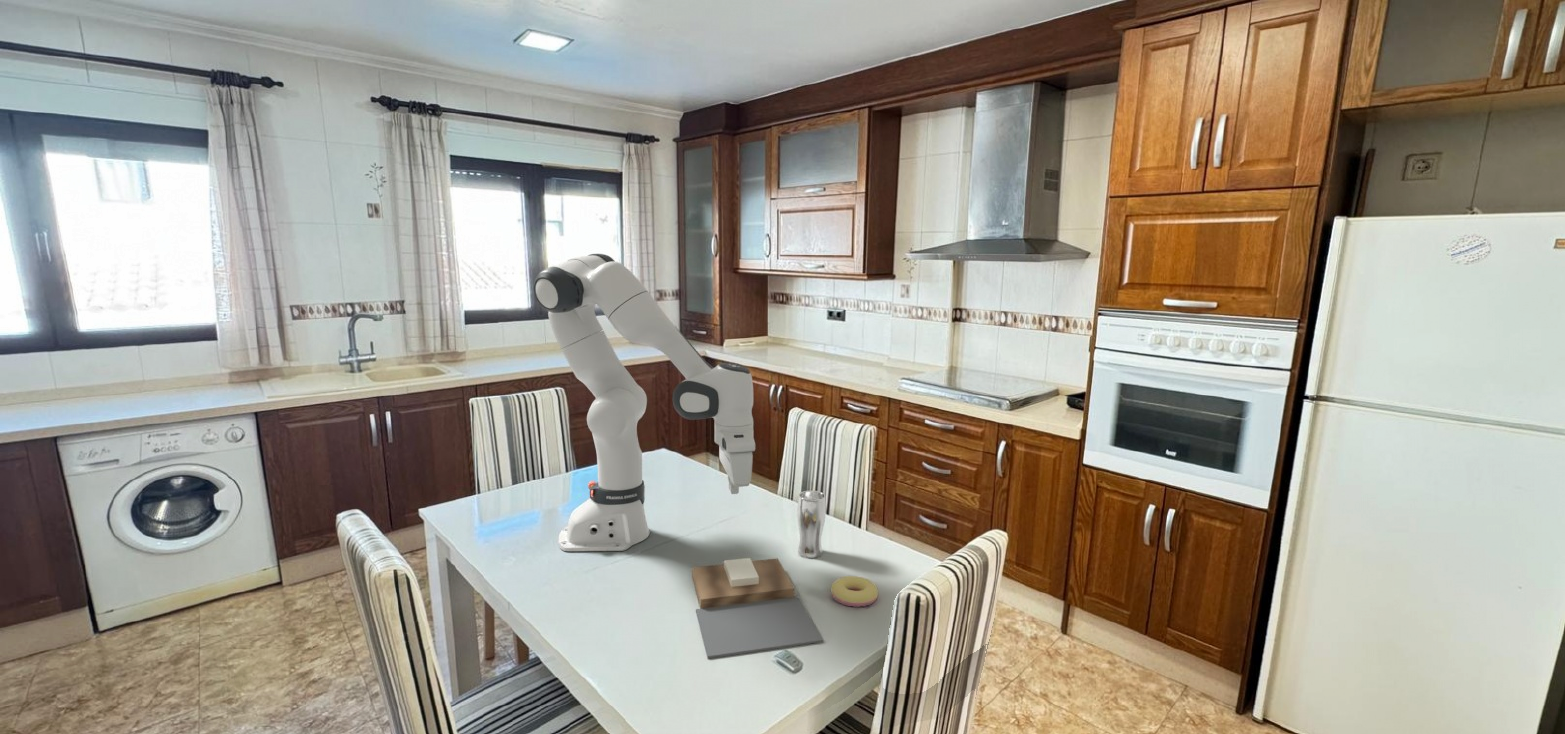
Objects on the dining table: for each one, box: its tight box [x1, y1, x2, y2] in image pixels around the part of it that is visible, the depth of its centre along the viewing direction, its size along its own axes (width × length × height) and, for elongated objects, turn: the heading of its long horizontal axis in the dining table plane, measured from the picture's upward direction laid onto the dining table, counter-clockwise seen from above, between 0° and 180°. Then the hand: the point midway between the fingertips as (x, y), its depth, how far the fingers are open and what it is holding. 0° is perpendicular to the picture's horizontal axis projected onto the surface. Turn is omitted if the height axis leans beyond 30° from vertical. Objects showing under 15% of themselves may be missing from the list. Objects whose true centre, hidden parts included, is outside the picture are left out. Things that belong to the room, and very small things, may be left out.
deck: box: [691, 558, 795, 609], centre depth 139 cm, size 20×14×2 cm
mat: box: [695, 596, 824, 660], centre depth 125 cm, size 22×16×1 cm
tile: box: [723, 557, 759, 587], centre depth 139 cm, size 6×9×2 cm, turn 15°
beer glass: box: [796, 490, 827, 559], centre depth 155 cm, size 7×7×15 cm
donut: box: [830, 575, 879, 608], centre depth 136 cm, size 10×5×9 cm
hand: (733, 491), depth 146 cm, fingers closed
